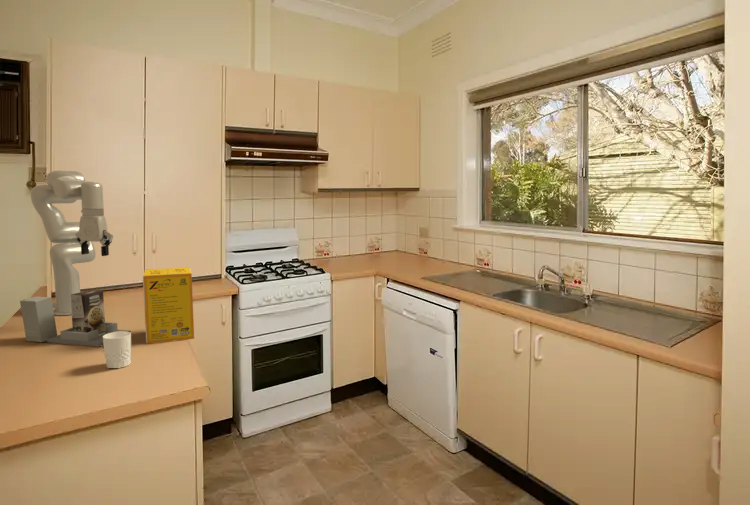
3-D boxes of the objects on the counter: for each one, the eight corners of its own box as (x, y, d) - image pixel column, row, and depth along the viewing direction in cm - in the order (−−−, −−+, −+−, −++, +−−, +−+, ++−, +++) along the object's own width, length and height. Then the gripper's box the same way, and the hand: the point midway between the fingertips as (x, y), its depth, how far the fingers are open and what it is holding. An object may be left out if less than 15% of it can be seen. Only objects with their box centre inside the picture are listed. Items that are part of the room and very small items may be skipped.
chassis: (47, 342, 170) (46, 331, 170) (82, 329, 186) (82, 319, 185) (98, 346, 166) (98, 335, 165) (130, 333, 181) (130, 323, 181)
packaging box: (148, 331, 184) (145, 269, 181) (192, 327, 191) (190, 267, 188) (146, 343, 170) (142, 276, 166) (194, 338, 176) (191, 273, 173)
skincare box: (58, 338, 175) (54, 296, 173) (39, 343, 169) (35, 300, 167) (42, 335, 178) (38, 295, 176) (22, 341, 171) (19, 299, 169)
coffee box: (87, 338, 171) (84, 295, 169) (72, 337, 172) (69, 294, 170) (106, 331, 180) (103, 290, 178) (92, 330, 181) (89, 289, 179)
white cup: (111, 361, 152) (109, 331, 151) (136, 360, 153) (135, 331, 151) (99, 370, 144) (97, 338, 143) (126, 369, 145) (124, 338, 143)
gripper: (67, 212, 187) (69, 254, 190) (103, 214, 184) (105, 257, 186) (82, 211, 195) (85, 252, 197) (118, 213, 191) (120, 255, 193)
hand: (95, 254), depth 191 cm, fingers open, 9 cm apart
